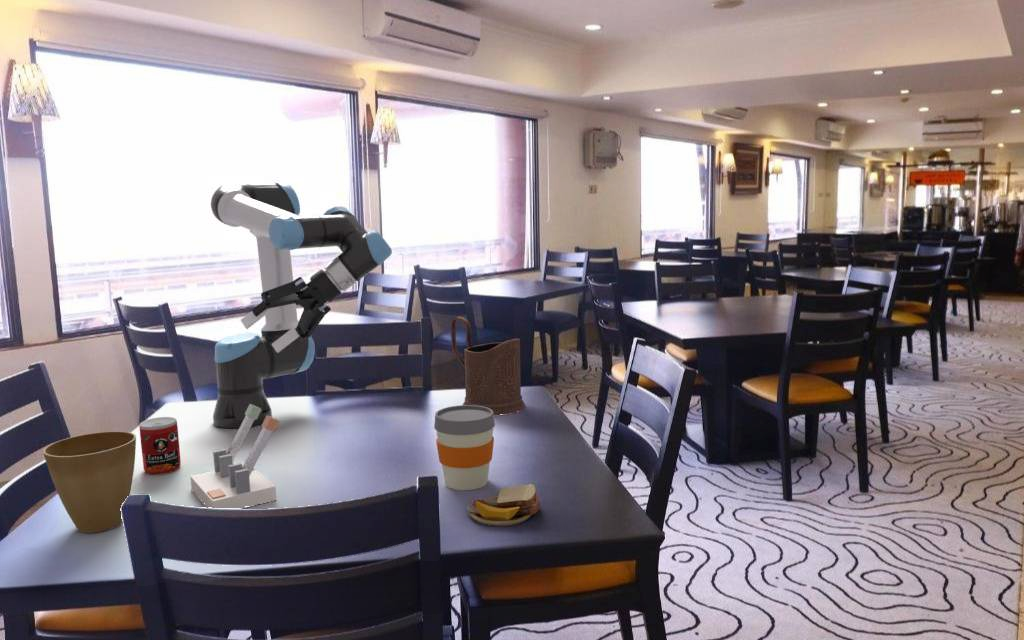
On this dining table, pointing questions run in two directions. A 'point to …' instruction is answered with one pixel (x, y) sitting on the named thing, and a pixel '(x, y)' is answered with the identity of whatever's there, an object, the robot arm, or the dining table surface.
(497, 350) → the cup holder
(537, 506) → the toy sandwich meal
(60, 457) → the plant pot
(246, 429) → the lever
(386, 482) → the dining table surface
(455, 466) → the reusable coffee cup
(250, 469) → the lever
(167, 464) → the canned food
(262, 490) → the console
